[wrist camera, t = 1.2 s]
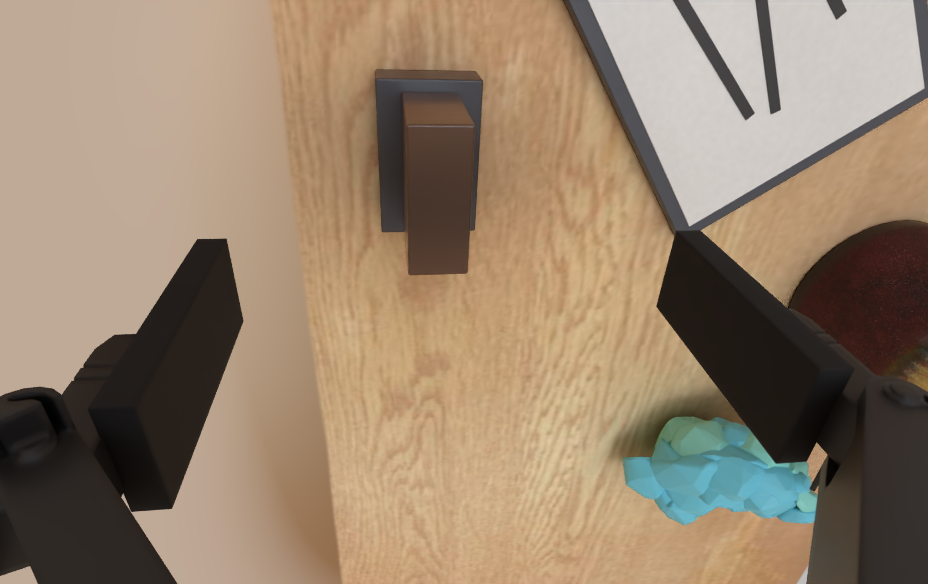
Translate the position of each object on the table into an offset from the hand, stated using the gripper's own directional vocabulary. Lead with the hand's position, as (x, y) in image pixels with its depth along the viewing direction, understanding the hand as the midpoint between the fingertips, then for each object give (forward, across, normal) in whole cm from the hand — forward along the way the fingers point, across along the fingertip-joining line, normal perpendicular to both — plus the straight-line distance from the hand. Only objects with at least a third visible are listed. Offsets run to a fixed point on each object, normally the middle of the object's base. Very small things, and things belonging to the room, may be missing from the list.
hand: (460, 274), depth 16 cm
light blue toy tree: (+12, +19, -22) cm, 31 cm away
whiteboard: (+12, +14, +7) cm, 20 cm away
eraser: (+12, 0, 0) cm, 12 cm away
